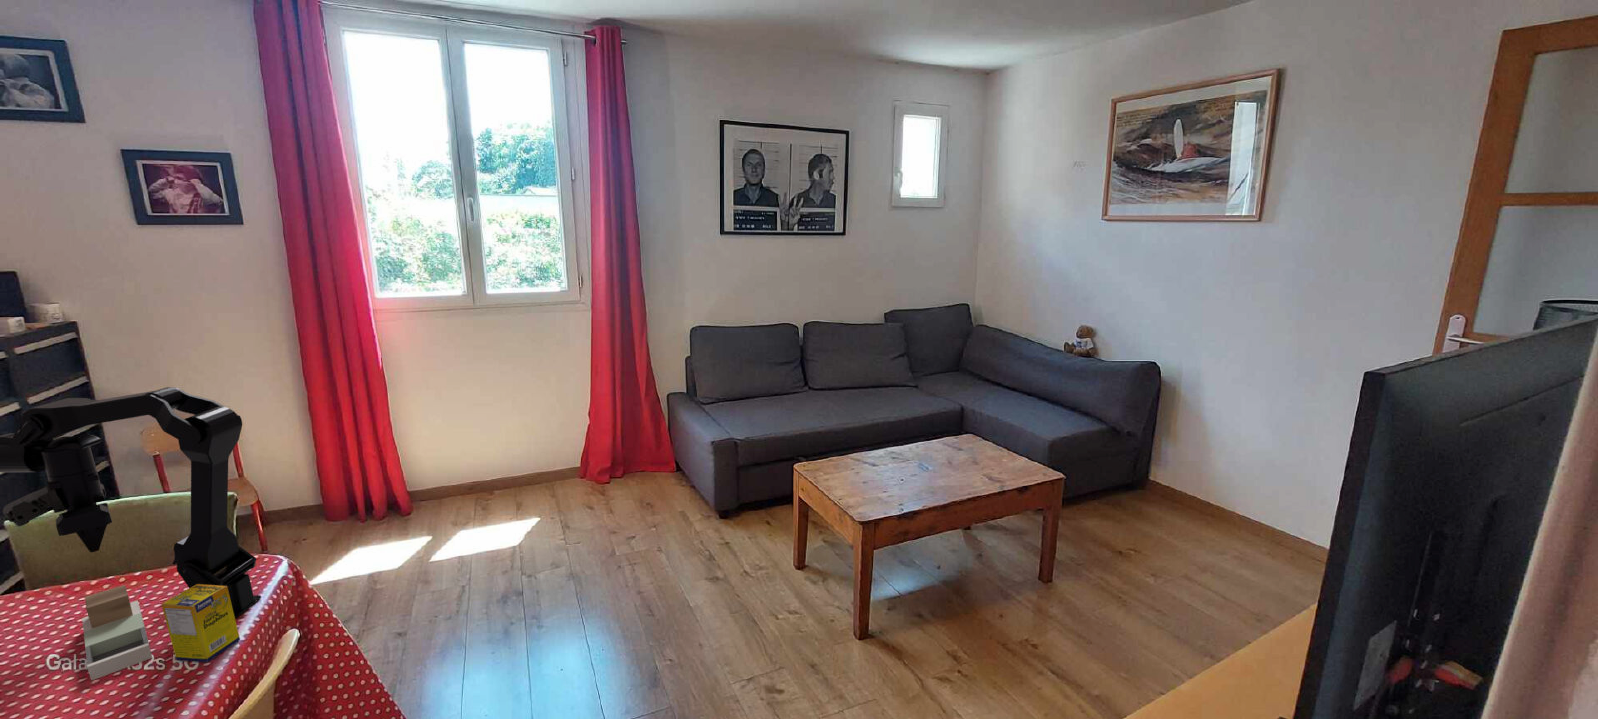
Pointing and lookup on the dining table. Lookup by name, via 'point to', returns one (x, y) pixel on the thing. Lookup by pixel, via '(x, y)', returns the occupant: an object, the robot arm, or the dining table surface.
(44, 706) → the dining table surface
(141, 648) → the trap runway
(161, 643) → the dining table surface
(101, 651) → the pad
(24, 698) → the dining table surface
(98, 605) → the walnut block
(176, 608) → the supplement box
